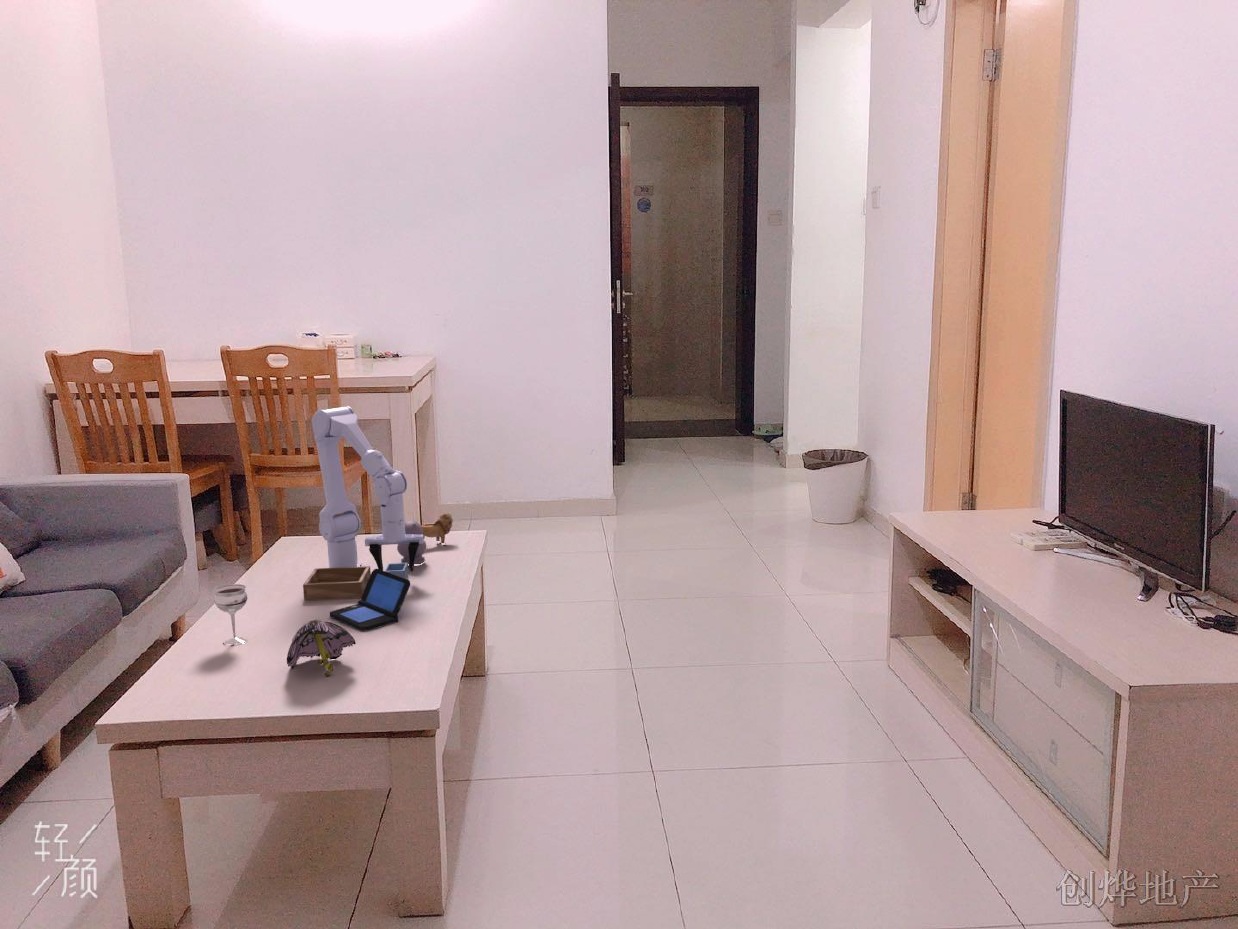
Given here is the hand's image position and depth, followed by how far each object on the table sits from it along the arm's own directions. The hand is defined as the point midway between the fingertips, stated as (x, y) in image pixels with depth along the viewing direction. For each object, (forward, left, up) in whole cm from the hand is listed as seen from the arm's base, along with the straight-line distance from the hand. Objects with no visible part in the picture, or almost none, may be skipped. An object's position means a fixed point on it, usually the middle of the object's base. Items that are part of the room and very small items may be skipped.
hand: (396, 571), depth 261 cm
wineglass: (+38, -30, -3) cm, 49 cm away
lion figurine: (-36, +5, -3) cm, 36 cm away
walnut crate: (+4, -14, -3) cm, 15 cm away
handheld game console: (+26, -3, -4) cm, 26 cm away
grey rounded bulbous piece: (-18, +2, -3) cm, 18 cm away
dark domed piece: (+57, -8, -3) cm, 58 cm away
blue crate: (0, 0, -3) cm, 3 cm away
